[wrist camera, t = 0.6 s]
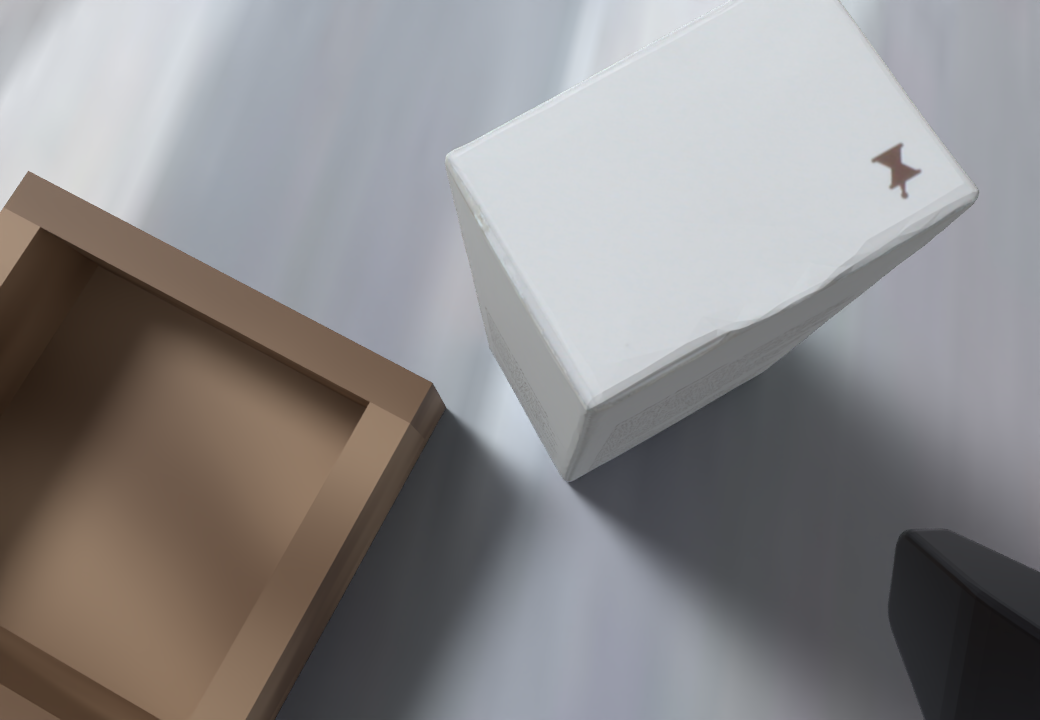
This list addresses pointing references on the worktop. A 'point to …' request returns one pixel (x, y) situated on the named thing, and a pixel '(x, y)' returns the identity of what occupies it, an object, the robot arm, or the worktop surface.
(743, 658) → the worktop surface
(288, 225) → the worktop surface
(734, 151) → the skincare box
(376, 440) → the walnut holder
